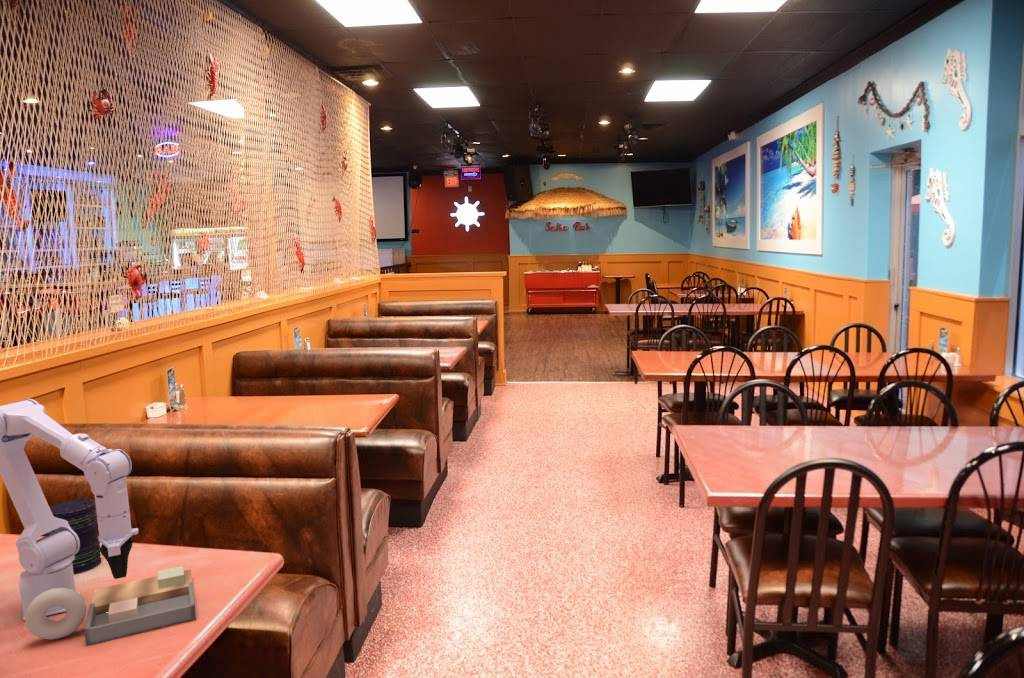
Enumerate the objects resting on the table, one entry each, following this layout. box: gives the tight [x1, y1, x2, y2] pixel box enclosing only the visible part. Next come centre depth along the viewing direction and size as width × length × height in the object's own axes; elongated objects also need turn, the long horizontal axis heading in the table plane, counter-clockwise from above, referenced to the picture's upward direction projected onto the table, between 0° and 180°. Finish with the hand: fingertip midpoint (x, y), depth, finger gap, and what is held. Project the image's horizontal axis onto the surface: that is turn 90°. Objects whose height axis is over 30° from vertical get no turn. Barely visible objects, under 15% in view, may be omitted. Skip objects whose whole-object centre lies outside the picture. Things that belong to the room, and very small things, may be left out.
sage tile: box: [157, 565, 185, 589], centre depth 155 cm, size 5×5×2 cm
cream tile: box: [108, 598, 138, 623], centre depth 144 cm, size 5×5×2 cm
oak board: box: [91, 569, 193, 615], centre depth 153 cm, size 19×9×2 cm, turn 116°
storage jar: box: [48, 498, 102, 575], centre depth 168 cm, size 10×10×15 cm
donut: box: [24, 588, 87, 641], centre depth 137 cm, size 10×4×10 cm, turn 117°
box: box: [84, 581, 197, 646], centre depth 143 cm, size 19×12×3 cm, turn 116°
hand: (120, 576), depth 144 cm, fingers closed
